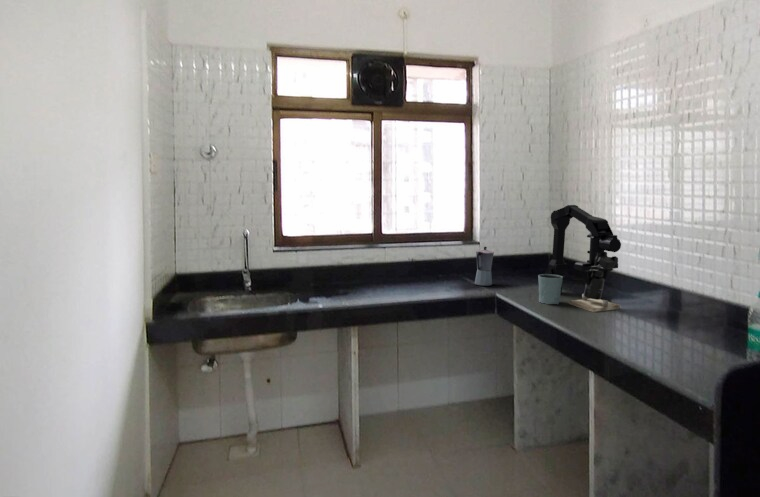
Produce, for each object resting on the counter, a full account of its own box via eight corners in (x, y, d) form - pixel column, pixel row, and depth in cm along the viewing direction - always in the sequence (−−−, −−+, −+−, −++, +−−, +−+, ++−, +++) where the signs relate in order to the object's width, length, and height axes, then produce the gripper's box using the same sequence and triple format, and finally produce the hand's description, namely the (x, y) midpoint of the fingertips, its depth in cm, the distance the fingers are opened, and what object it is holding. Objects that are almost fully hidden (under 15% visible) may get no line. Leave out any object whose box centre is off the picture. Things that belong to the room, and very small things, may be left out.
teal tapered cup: (532, 301, 220) (533, 274, 219) (550, 298, 224) (551, 273, 223) (548, 306, 211) (549, 278, 210) (566, 303, 215) (567, 276, 214)
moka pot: (497, 283, 261) (498, 245, 258) (487, 288, 248) (487, 249, 245) (480, 281, 266) (480, 244, 263) (469, 286, 253) (469, 248, 250)
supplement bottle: (602, 301, 206) (607, 273, 204) (584, 297, 207) (590, 270, 205) (598, 297, 212) (604, 270, 211) (582, 294, 214) (587, 267, 212)
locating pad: (593, 311, 201) (593, 302, 201) (569, 304, 214) (570, 295, 214) (620, 308, 206) (620, 299, 205) (595, 301, 219) (595, 292, 218)
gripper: (593, 252, 196) (591, 291, 199) (629, 250, 202) (627, 287, 205) (573, 249, 207) (572, 285, 209) (609, 246, 213) (607, 282, 215)
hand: (595, 285), depth 209 cm, fingers closed on supplement bottle, 7 cm apart
